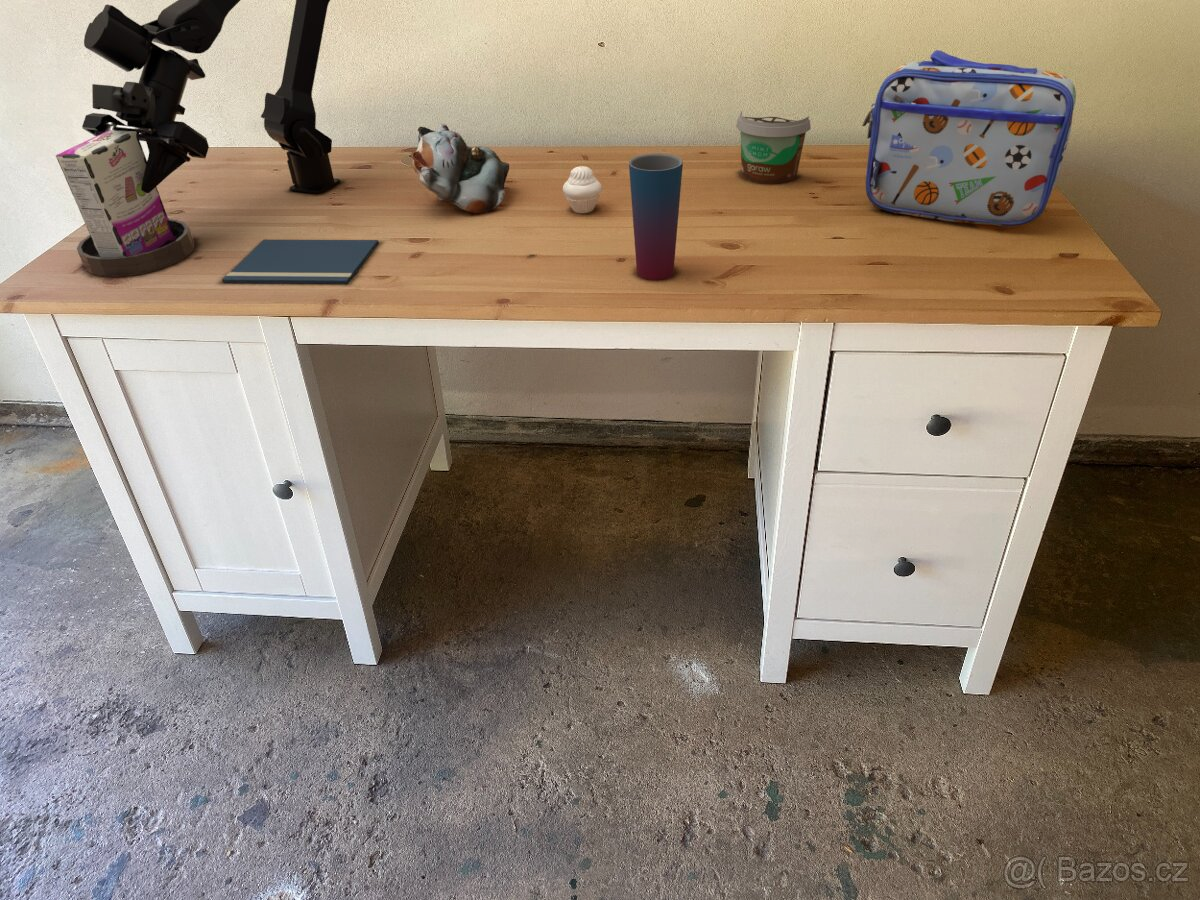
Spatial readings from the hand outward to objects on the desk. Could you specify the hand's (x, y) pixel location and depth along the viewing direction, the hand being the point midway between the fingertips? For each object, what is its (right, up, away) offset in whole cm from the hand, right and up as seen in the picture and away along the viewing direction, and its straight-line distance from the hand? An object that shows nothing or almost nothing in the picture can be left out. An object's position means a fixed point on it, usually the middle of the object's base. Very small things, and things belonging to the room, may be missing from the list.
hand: (128, 189), depth 121 cm
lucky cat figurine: (+46, +3, +17) cm, 50 cm away
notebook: (+26, -11, 0) cm, 28 cm away
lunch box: (+121, -2, +6) cm, 121 cm away
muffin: (+66, 0, +12) cm, 67 cm away
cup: (+76, -14, -7) cm, 78 cm away
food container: (+97, +8, +20) cm, 99 cm away
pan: (0, -9, +4) cm, 10 cm away
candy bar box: (0, -8, +4) cm, 9 cm away
